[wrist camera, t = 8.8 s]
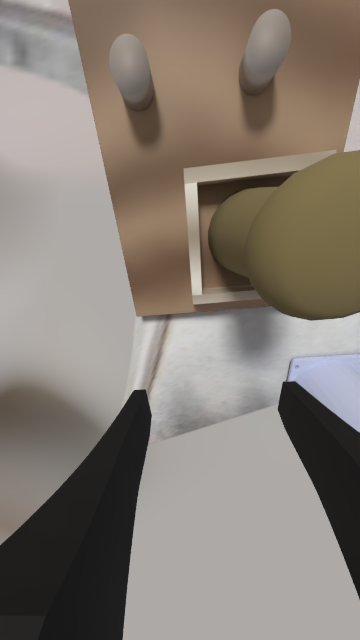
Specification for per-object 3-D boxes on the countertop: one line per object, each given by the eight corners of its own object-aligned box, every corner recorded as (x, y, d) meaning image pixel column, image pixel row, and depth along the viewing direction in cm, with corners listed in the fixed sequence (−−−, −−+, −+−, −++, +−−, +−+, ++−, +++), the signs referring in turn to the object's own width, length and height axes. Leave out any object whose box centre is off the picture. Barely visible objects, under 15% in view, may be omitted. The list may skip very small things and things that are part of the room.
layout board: (302, 298, 19) (323, 312, 16) (139, 311, 20) (131, 326, 17) (378, -77, 10) (460, -203, 7) (70, -20, 11) (29, -109, 8)
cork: (274, 274, 16) (408, 352, 7) (203, 270, 16) (232, 342, 7) (297, 190, 14) (585, 107, 4) (212, 184, 14) (287, 87, 4)
